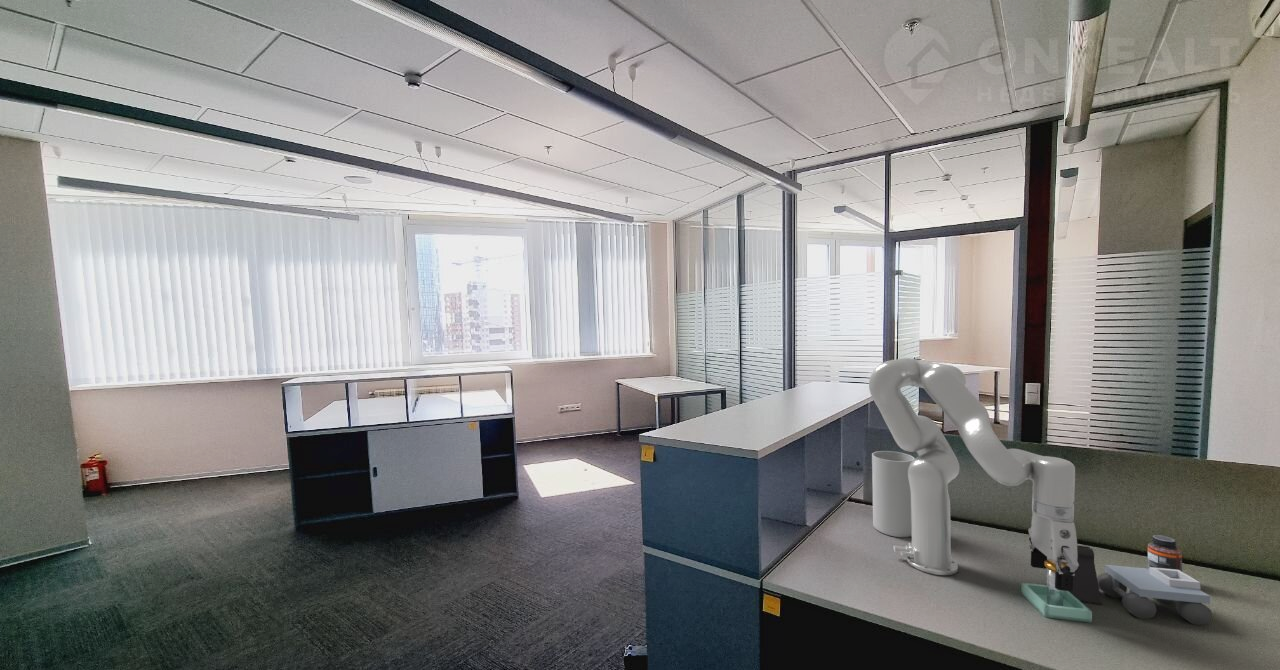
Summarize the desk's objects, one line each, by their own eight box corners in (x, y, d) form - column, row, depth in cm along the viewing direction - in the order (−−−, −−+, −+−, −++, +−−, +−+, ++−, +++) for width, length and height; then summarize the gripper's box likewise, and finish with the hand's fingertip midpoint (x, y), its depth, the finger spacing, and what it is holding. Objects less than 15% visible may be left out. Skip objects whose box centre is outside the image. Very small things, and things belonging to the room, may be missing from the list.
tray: (1045, 617, 106) (1044, 606, 106) (1021, 592, 116) (1021, 582, 115) (1091, 622, 104) (1091, 611, 103) (1063, 597, 113) (1063, 587, 113)
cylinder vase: (907, 523, 157) (906, 451, 157) (921, 539, 145) (920, 462, 144) (868, 520, 160) (867, 450, 159) (879, 536, 148) (877, 460, 147)
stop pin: (1049, 608, 108) (1050, 567, 108) (1039, 597, 112) (1040, 558, 112) (1070, 610, 107) (1071, 569, 107) (1059, 600, 111) (1060, 560, 111)
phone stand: (1102, 605, 110) (1101, 556, 110) (1070, 600, 112) (1070, 552, 112) (1081, 585, 118) (1081, 539, 118) (1052, 581, 120) (1052, 536, 120)
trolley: (1213, 627, 101) (1212, 589, 101) (1129, 617, 105) (1129, 581, 105) (1170, 598, 112) (1169, 564, 112) (1095, 590, 116) (1095, 557, 115)
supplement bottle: (1173, 577, 121) (1173, 535, 121) (1188, 589, 115) (1188, 545, 115) (1142, 572, 123) (1142, 531, 123) (1156, 583, 118) (1155, 541, 118)
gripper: (1097, 526, 100) (1094, 602, 101) (1049, 496, 117) (1047, 561, 117) (1056, 523, 102) (1054, 597, 103) (1014, 494, 119) (1013, 558, 119)
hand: (1050, 578), depth 110 cm, fingers open, 9 cm apart
